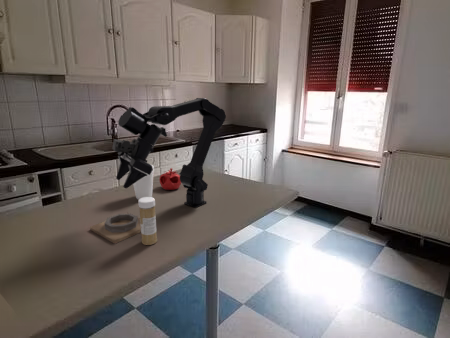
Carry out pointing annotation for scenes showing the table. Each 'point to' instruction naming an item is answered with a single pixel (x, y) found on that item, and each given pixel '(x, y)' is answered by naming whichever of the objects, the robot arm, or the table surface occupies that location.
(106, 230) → the collar plate
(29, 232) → the table surface
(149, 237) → the sprinkles bottle
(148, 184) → the foam cup
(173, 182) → the pomegranate
